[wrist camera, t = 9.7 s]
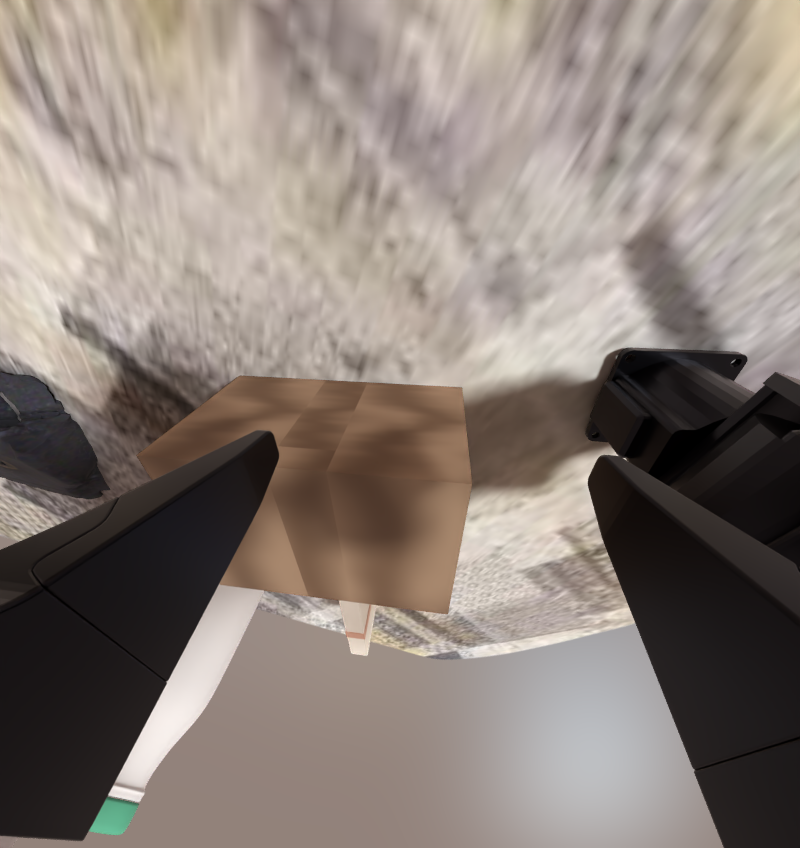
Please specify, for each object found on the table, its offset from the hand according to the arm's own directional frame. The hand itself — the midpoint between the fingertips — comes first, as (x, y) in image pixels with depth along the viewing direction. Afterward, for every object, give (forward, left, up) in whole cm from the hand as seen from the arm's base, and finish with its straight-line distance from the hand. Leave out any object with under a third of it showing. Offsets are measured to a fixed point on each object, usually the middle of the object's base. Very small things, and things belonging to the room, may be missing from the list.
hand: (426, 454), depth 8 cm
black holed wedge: (+42, +10, -13) cm, 45 cm away
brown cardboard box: (+6, +10, -12) cm, 17 cm away
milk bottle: (+23, +32, -12) cm, 41 cm away
